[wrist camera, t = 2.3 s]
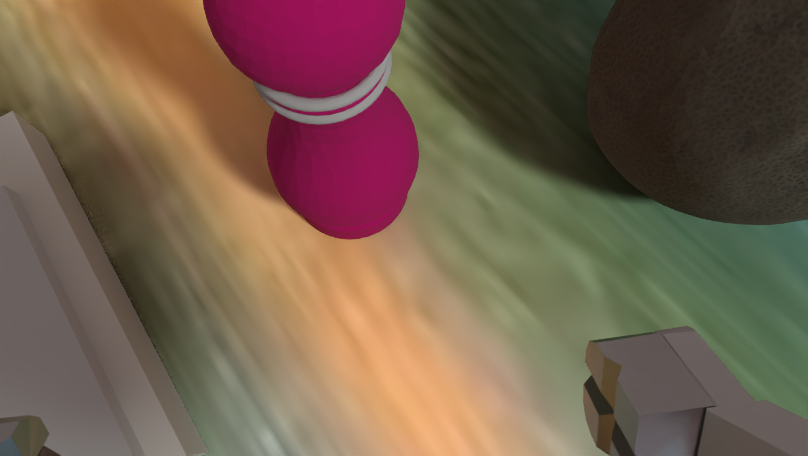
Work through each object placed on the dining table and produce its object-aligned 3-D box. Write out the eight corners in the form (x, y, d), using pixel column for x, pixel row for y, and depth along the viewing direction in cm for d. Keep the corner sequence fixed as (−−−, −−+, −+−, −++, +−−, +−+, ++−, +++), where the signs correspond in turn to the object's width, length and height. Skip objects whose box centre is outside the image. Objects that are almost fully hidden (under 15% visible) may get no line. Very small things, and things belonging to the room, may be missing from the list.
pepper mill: (414, 252, 32) (424, 15, 13) (278, 245, 32) (95, 2, 13) (420, 129, 34) (436, -229, 15) (293, 123, 35) (151, -238, 15)
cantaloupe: (629, 305, 31) (816, 212, 17) (518, 79, 35) (593, -151, 21) (864, 212, 33) (1218, 55, 18) (732, 5, 37) (940, -258, 22)
